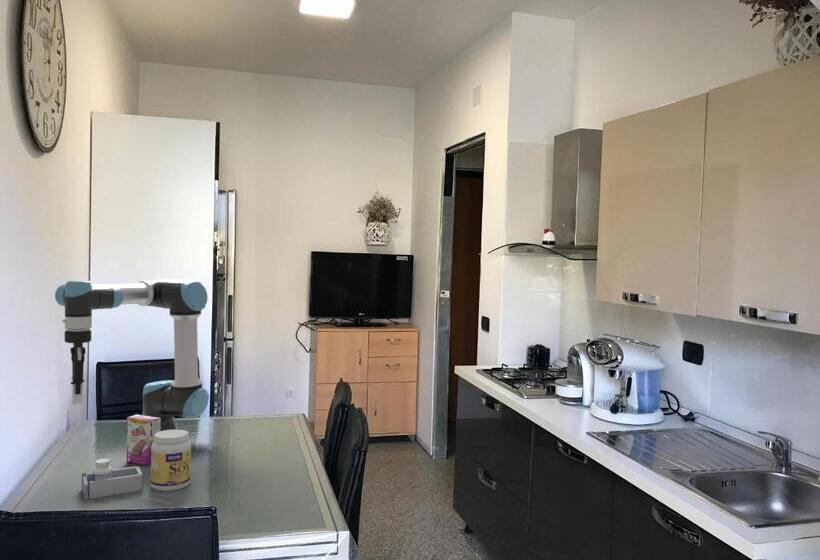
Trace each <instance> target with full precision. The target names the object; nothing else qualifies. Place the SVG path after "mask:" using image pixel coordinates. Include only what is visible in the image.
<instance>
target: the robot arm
mask: <svg viewBox="0 0 820 560" xmlns="http://www.w3.org/2000/svg"><path fill="white" fill-rule="evenodd" d="M54 298H55V301H56V303H57V304H58V305H60V306H62V307H64V319H62V323H64V329H65V331H64V339H63V340H64V342H65V343H67V344H72V346H73V347H70V354H71V356H70V357H71V358H70V359H71V363H72V364H71V365H72V366H71V367H72V368H71V371H72V376H71V379H72V381H70V385H72V397H71V398H72V405H73V406H74V405H82V404H83V397H84V396H83V394H84V393H83V387H84V386H83V383H84V382H85V379H84V366H85V365H84V362H85V354H86V348H85V346H84V345H83V344H84V343H85V344H86V343H89V342H91V341H92V330H91V329H92V326H93V325H92V324H93V322H92V321H93V317H92V316H93V314H92V312H93V311H94V310H105V309H109V310H111V309H114V308H118V307H120V306H121V305H139V306H141V307H155V308H161V309H169V316H170V317H171V318H173V339H174V340H173V341H174V343H173V344H174V351H173V352H174V379H173V380H171V379H169V380H168V379H167V380H159V381H154V382H148V383H146V384H145V385H144V386H143V392H142V415H144V416H150V417H157V418H161V431H164V430H179V429H178V426H177V424H176V420H175V417H182V418H185V419H189V418H190V419H191V418H192V419H196V418H198V417H200V416H201V415H202V414H204V412H205V411H206V409H207V407H208V405H209V402H210V401H209V399H210V396H209V392H208V391H207V390H208V389H205V388H203V381H202V380H201V379H200V378H199V359H198V358H199V350H198V318H199V317H200V315H202V310H203V309H205V308H206V304H207V303H208V292H207V289H206V287H205V286H204V285H203V283H202V282H200V281H198V280H192V279H178V278H177V279H176V278H175V279H174V278H173V279H172V278H162V279H154V280H145V281H143V280H142V281H139V282H137V283H123V284H122V283H110V284H109V283H108V284H105V283H103V284H102V283H101V284H94V283H93V284H92V281H90V280H68V281H67V282H65V284H61V285H59V286H58V287H57V288H56V291H55V293H54Z"/></svg>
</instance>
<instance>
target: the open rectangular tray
mask: <svg viewBox="0 0 820 560" xmlns="http://www.w3.org/2000/svg"><path fill="white" fill-rule="evenodd" d="M86 479H87V482H88V500H89V499H90V500H91V498H92V499H97V498H96V497H98V498H102V497H101V496H104V497H107V496H106V495H110V496H113V495H112V494H116V495H121V494H120V493H122V494H127V493H128V492H129V493H134V492H140V491H143V490H144V474H143V471H142V470H141V468H140V467H139V465H138V466H137V465H136V466H130V467H122V468H116V469H112V478H109V479H103V480H96V481H93V472H89V473H87V472H86ZM129 493H128V494H129Z"/></svg>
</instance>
